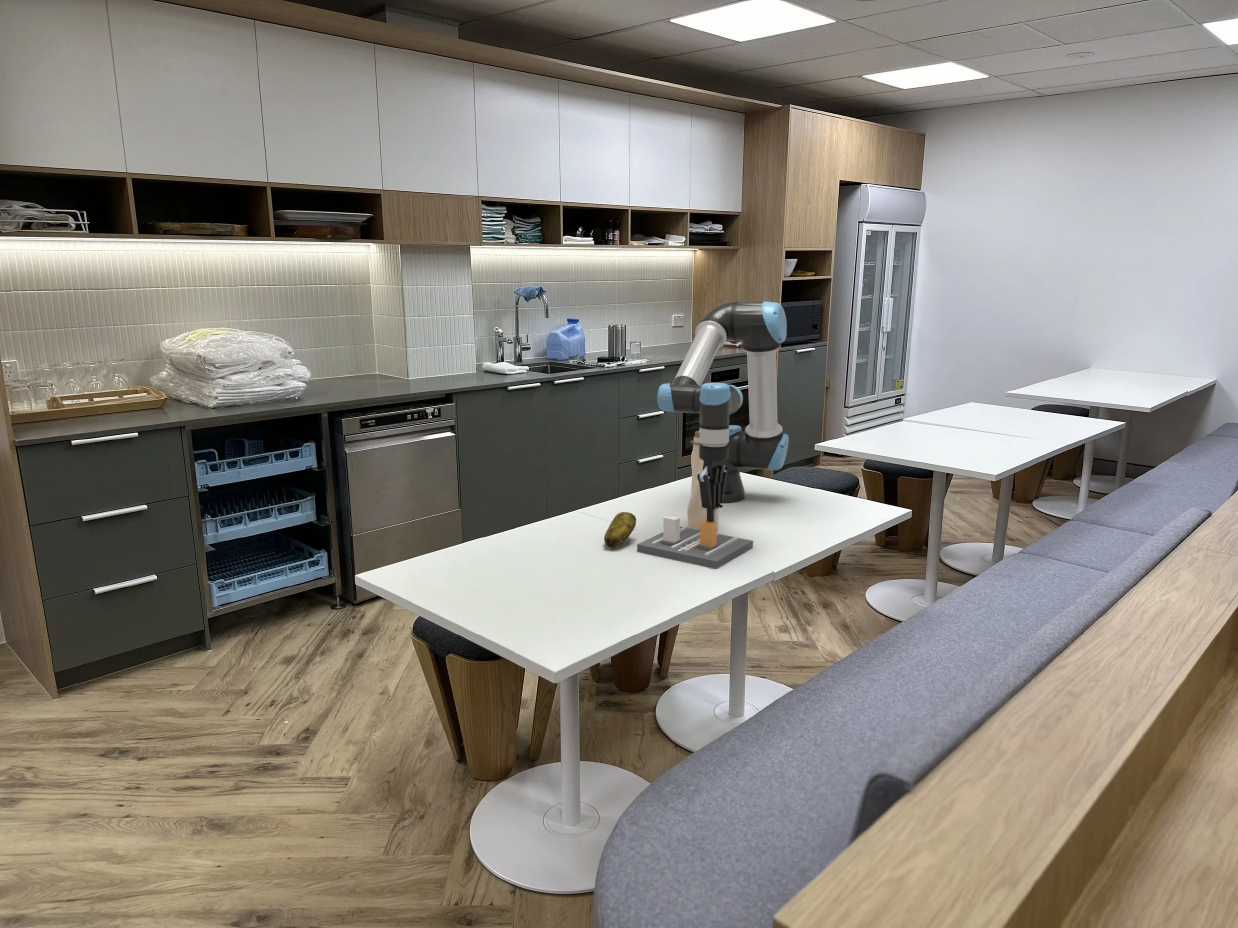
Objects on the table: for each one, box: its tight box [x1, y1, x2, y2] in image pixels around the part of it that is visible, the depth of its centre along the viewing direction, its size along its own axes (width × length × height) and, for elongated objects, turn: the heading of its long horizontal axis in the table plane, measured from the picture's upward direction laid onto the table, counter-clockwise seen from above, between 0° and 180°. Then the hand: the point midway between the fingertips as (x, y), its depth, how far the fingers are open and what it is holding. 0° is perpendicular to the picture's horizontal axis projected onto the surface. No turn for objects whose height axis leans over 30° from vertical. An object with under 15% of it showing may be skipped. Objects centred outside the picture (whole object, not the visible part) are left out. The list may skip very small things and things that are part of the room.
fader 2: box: [698, 520, 719, 551], centre depth 224 cm, size 4×4×7 cm
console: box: [636, 526, 754, 570], centre depth 230 cm, size 20×24×3 cm
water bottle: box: [686, 430, 707, 530], centre depth 247 cm, size 10×9×28 cm
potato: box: [603, 511, 637, 549], centre depth 235 cm, size 8×13×8 cm, turn 138°
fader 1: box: [661, 515, 682, 546], centre depth 228 cm, size 4×4×7 cm
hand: (712, 531), depth 226 cm, fingers closed
